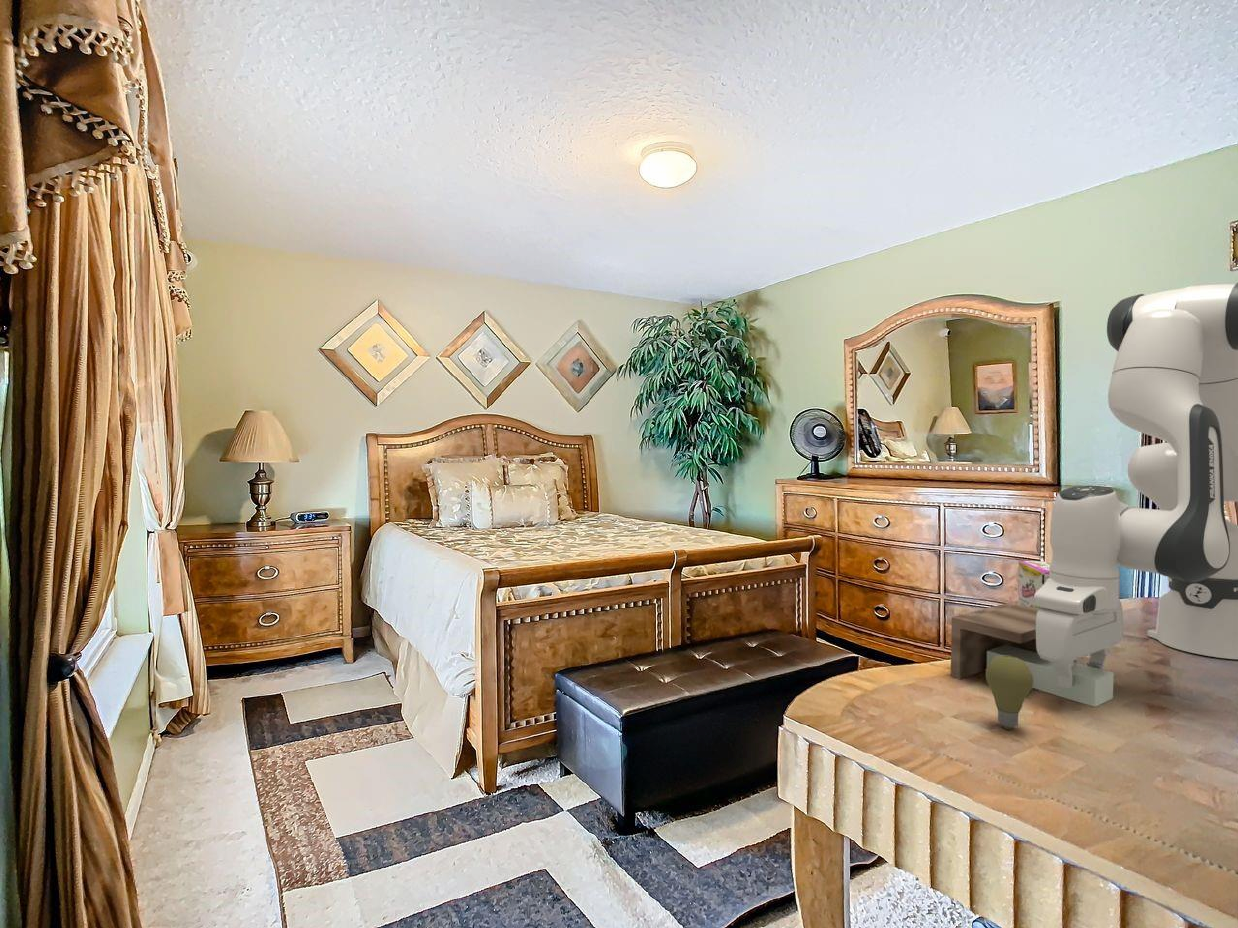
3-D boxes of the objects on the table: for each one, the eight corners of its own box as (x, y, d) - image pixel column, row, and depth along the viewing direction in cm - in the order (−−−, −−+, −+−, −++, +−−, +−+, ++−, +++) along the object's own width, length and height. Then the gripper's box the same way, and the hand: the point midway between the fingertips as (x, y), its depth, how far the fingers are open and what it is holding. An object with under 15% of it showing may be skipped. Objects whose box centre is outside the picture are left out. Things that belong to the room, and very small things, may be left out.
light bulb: (1010, 717, 93) (1011, 648, 93) (1041, 735, 88) (1043, 661, 87) (975, 720, 92) (976, 650, 92) (1005, 738, 87) (1006, 664, 86)
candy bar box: (1015, 643, 127) (1017, 559, 126) (1044, 645, 126) (1046, 560, 125) (1040, 663, 116) (1042, 571, 115) (1071, 665, 115) (1074, 572, 114)
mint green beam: (1005, 667, 114) (1005, 644, 114) (1112, 698, 100) (1113, 672, 100) (986, 673, 111) (986, 650, 110) (1094, 706, 97) (1095, 680, 97)
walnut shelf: (1008, 656, 119) (1009, 602, 119) (1075, 675, 110) (1077, 616, 109) (950, 676, 110) (951, 617, 109) (1019, 698, 100) (1020, 633, 100)
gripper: (1091, 580, 109) (1089, 662, 109) (1027, 596, 98) (1025, 687, 98) (1136, 587, 103) (1134, 673, 104) (1074, 605, 93) (1072, 701, 93)
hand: (1080, 680), depth 101 cm, fingers open, 8 cm apart
